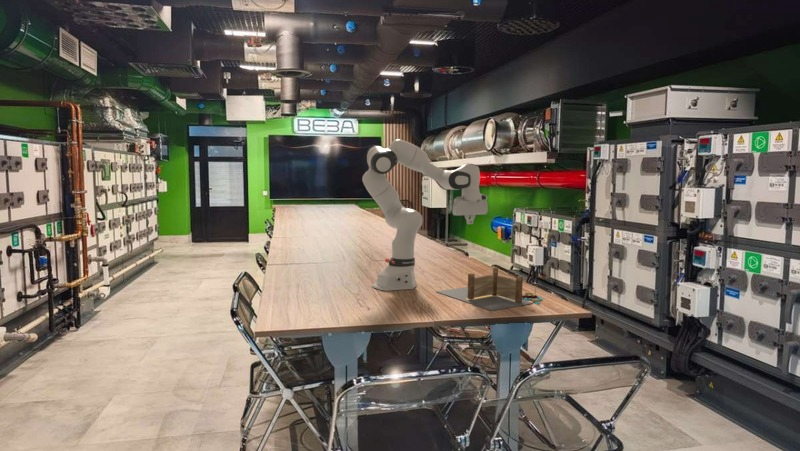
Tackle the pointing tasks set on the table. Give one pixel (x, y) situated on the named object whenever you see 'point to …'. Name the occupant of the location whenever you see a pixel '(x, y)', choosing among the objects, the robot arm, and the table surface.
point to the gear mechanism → (531, 297)
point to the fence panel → (479, 285)
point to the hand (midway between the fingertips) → (469, 224)
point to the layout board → (483, 299)
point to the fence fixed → (507, 287)
